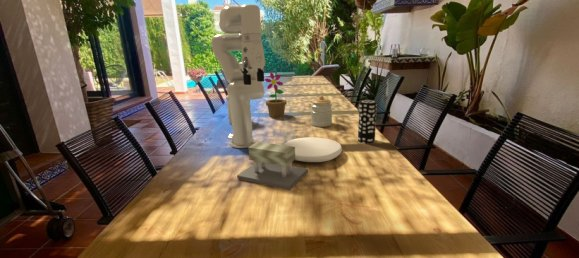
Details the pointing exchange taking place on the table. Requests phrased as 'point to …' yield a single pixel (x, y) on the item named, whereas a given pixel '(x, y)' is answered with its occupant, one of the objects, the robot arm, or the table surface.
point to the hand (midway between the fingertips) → (254, 82)
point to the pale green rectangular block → (272, 153)
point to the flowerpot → (275, 105)
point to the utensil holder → (230, 108)
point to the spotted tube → (367, 121)
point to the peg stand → (273, 174)
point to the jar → (321, 112)
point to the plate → (314, 149)
